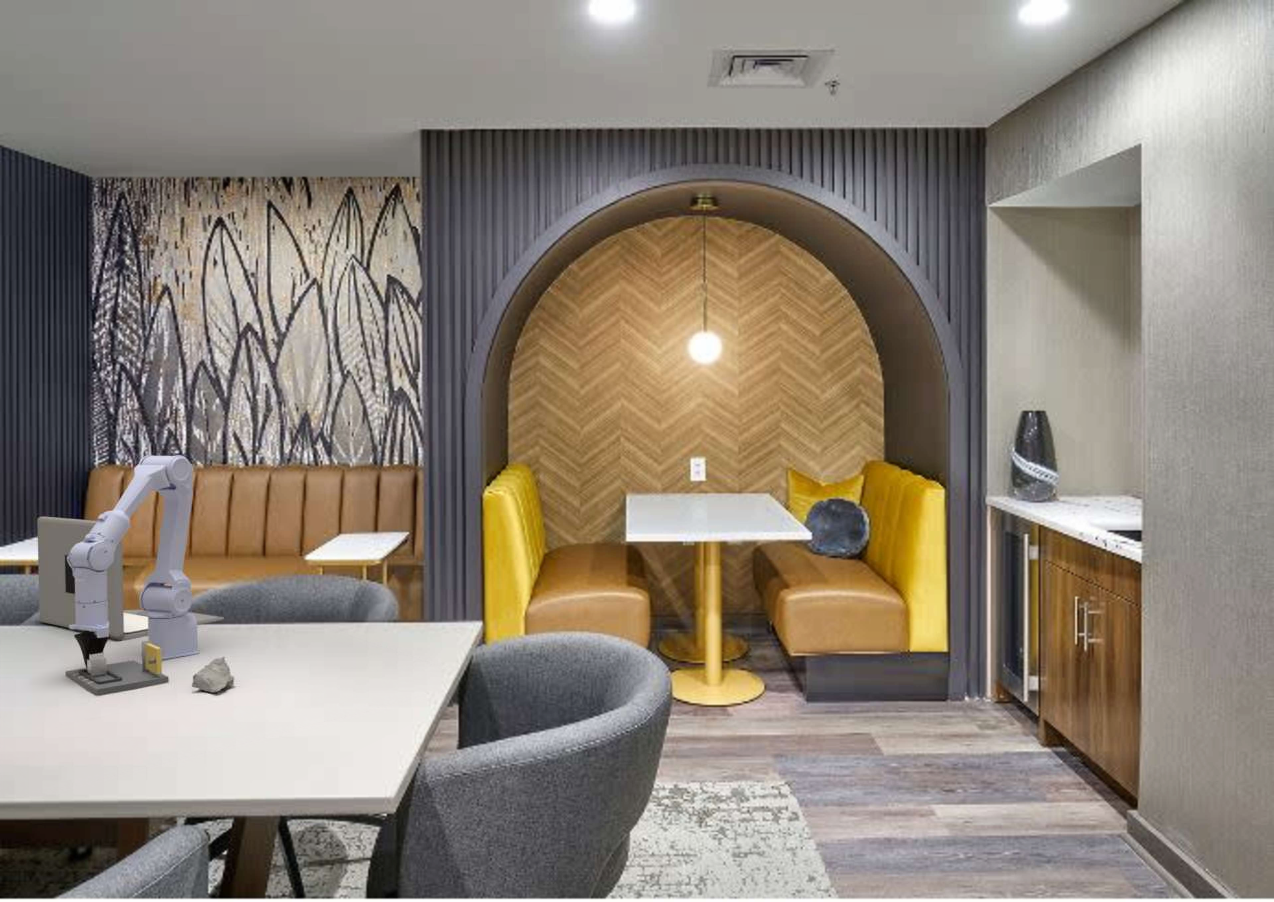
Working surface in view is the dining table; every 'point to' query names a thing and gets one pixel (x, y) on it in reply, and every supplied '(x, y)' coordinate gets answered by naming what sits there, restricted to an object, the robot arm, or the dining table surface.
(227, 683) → the stone
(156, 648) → the door
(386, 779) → the dining table surface
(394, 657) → the dining table surface
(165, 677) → the console
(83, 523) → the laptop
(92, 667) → the fader knob
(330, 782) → the dining table surface
